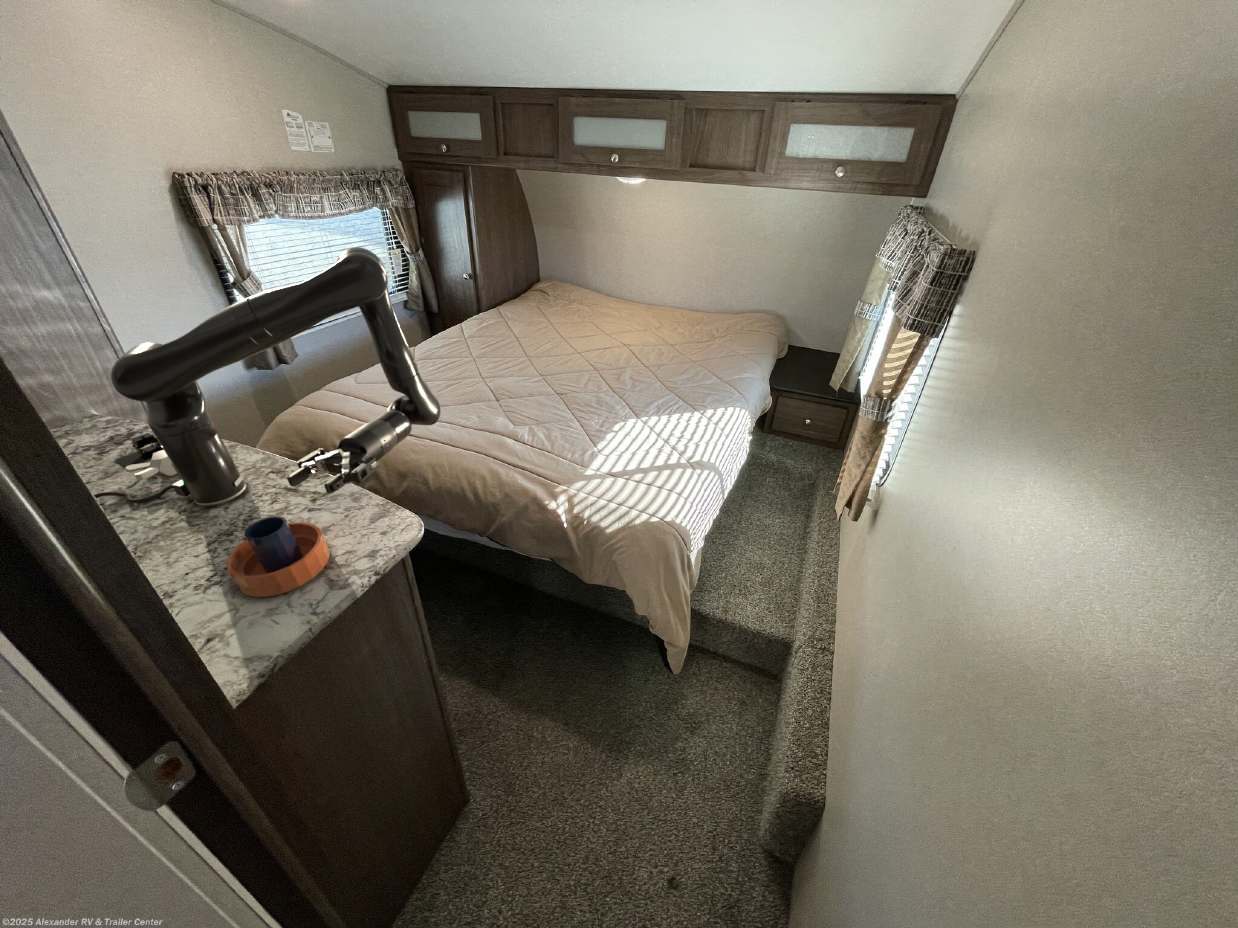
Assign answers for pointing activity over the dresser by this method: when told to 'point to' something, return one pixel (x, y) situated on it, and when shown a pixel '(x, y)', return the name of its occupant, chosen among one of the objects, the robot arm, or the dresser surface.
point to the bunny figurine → (153, 466)
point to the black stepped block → (141, 450)
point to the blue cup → (273, 543)
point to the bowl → (260, 584)
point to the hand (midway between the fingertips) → (308, 486)
